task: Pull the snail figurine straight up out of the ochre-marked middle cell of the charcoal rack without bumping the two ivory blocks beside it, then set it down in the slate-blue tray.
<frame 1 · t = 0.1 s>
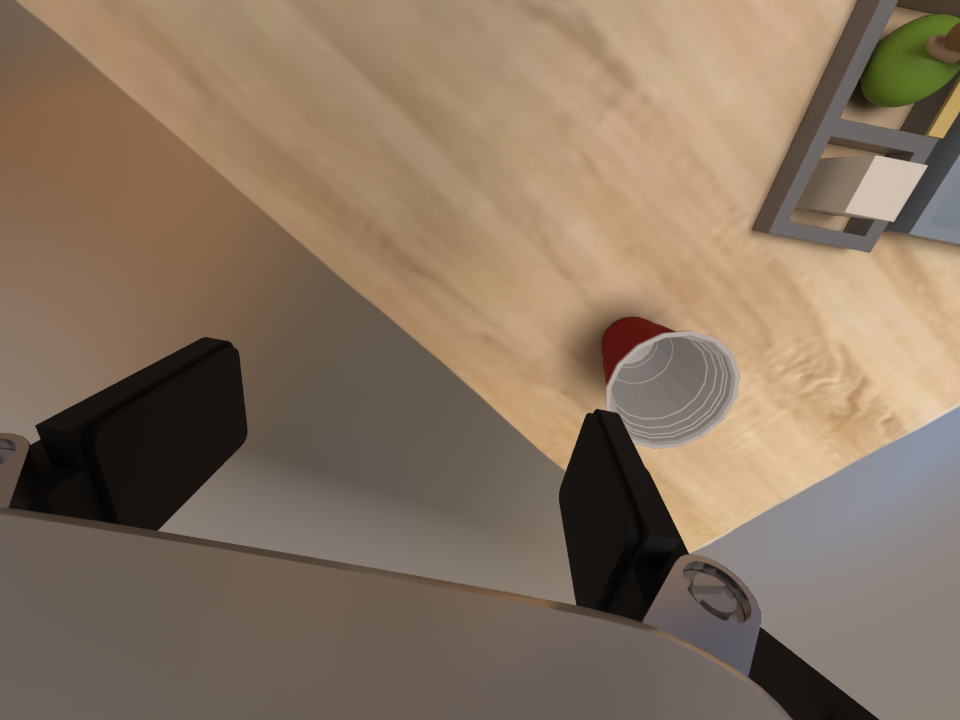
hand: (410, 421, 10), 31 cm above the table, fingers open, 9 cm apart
rack: (885, 73, 31), on the table
block 1: (825, 187, 35), resting in rack
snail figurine: (883, 74, 31), resting in rack
plastic cup: (629, 339, 42), on the table
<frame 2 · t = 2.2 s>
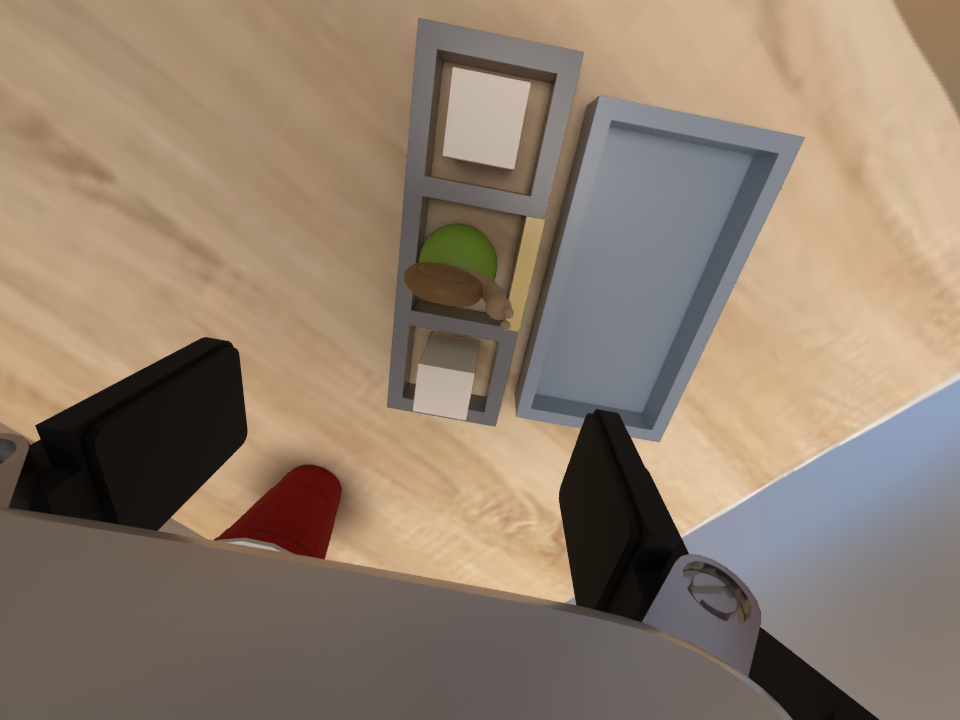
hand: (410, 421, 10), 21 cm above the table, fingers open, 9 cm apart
block 2: (488, 131, 26), resting in rack
rack: (468, 259, 29), on the table
block 1: (452, 357, 33), resting in rack
tray: (621, 287, 30), on the table
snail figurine: (468, 258, 29), resting in rack
plastic cup: (317, 483, 41), on the table
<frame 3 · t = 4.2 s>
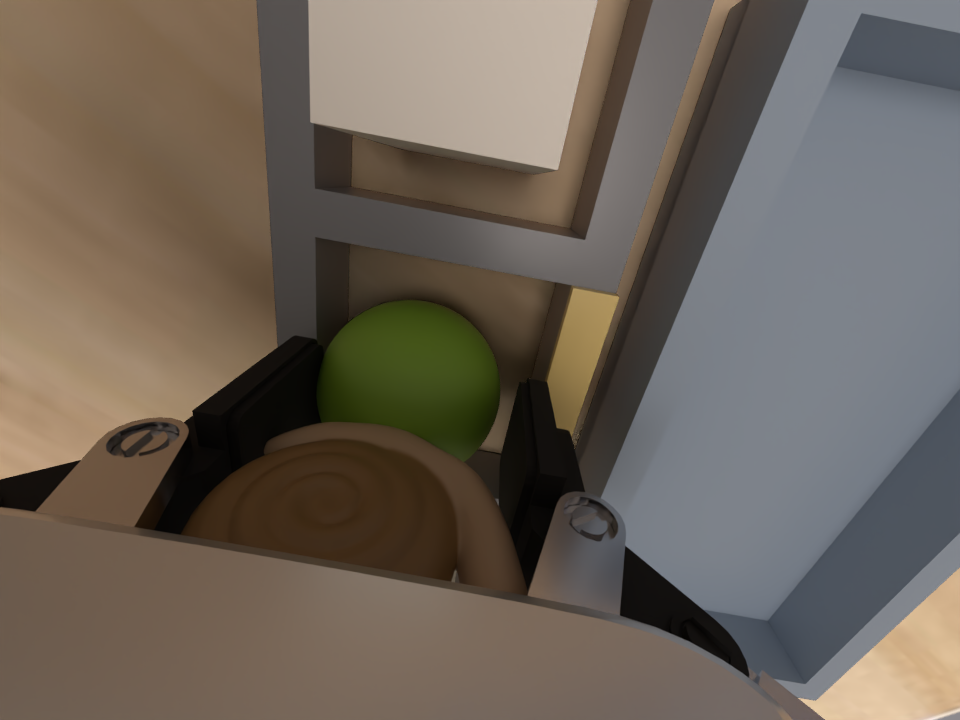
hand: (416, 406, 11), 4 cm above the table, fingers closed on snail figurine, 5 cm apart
block 2: (479, 82, 11), resting in rack
rack: (440, 355, 14), on the table
tray: (753, 413, 14), on the table
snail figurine: (441, 353, 14), resting in rack, touching gripper
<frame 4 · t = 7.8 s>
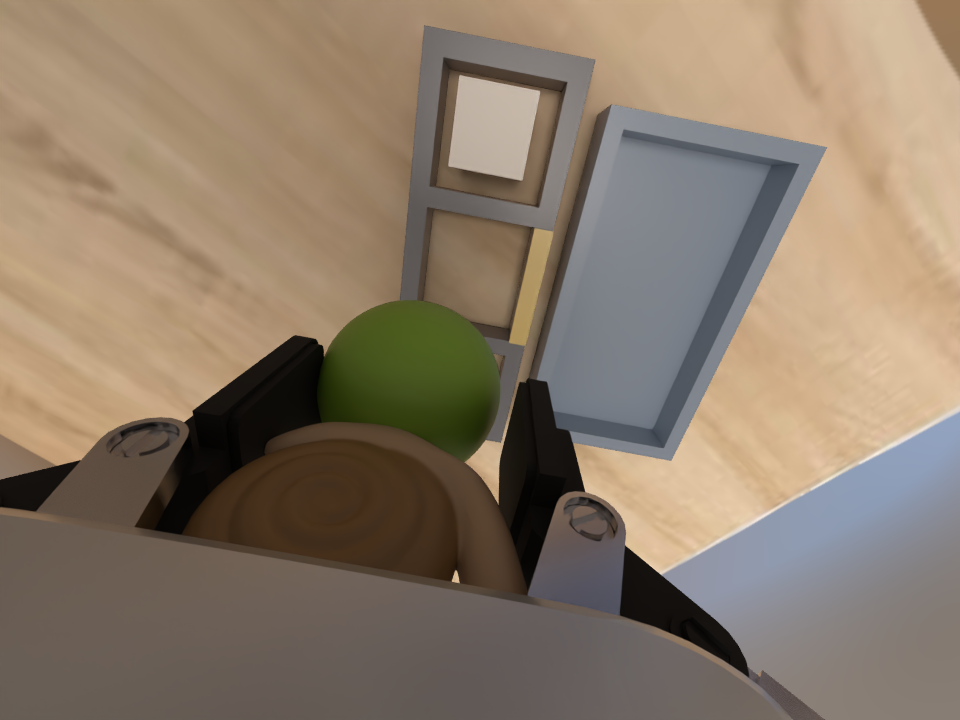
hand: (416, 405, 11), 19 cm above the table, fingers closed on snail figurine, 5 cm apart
block 2: (495, 141, 25), resting in rack
rack: (473, 270, 28), on the table
tray: (631, 301, 29), on the table
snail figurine: (442, 353, 14), point 15 cm above the table, touching gripper
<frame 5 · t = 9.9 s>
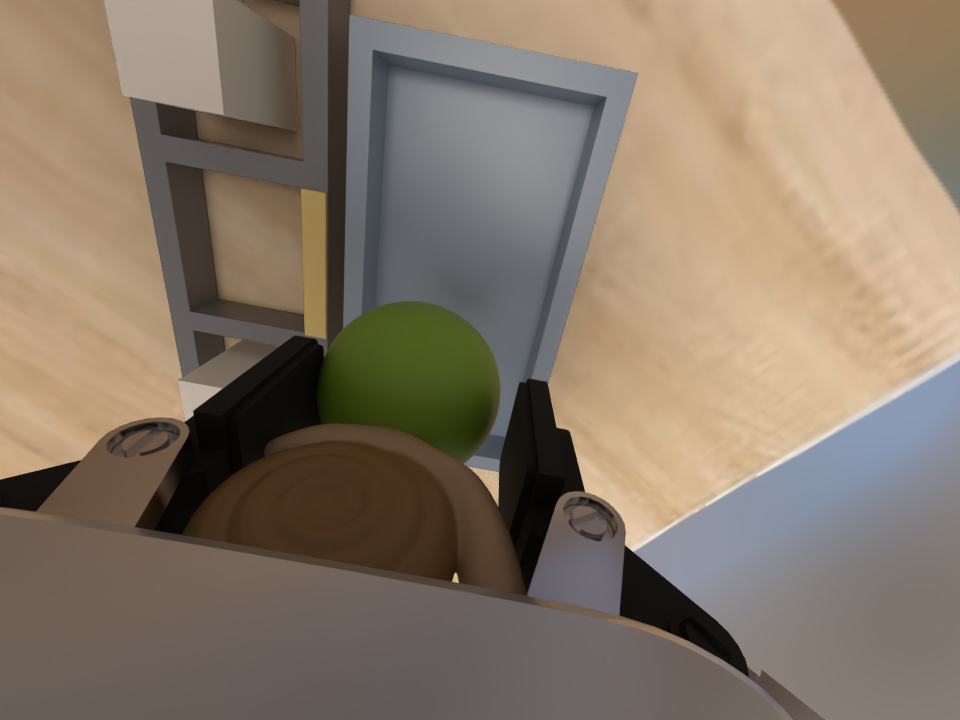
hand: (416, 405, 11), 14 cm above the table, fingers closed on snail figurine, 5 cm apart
block 2: (257, 79, 20), resting in rack
rack: (267, 247, 23), on the table
block 1: (276, 369, 27), resting in rack
tray: (462, 283, 24), on the table
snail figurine: (442, 354, 14), point 10 cm above the table, touching gripper
when the fingers open (6 cm above the table, at t = 11.7 s): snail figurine drops 1 cm, resting on tray.
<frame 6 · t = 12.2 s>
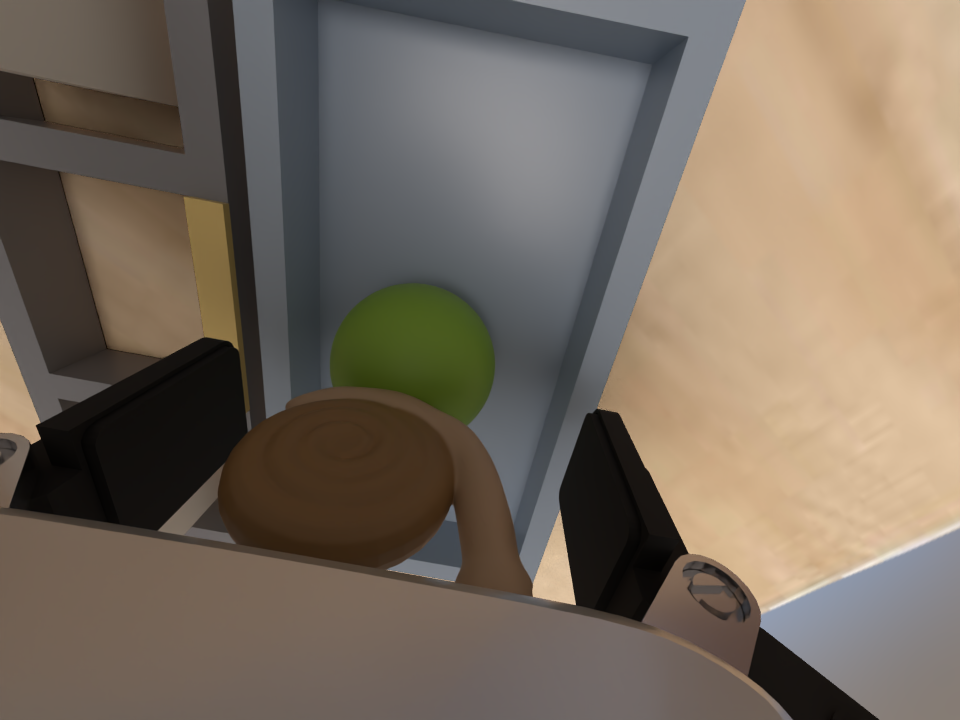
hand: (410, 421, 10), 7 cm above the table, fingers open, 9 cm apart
block 2: (121, 26, 13), resting in rack
rack: (166, 279, 16), on the table
block 1: (196, 438, 20), resting in rack
tray: (445, 331, 16), on the table
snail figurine: (442, 336, 16), point 1 cm above the table, touching tray
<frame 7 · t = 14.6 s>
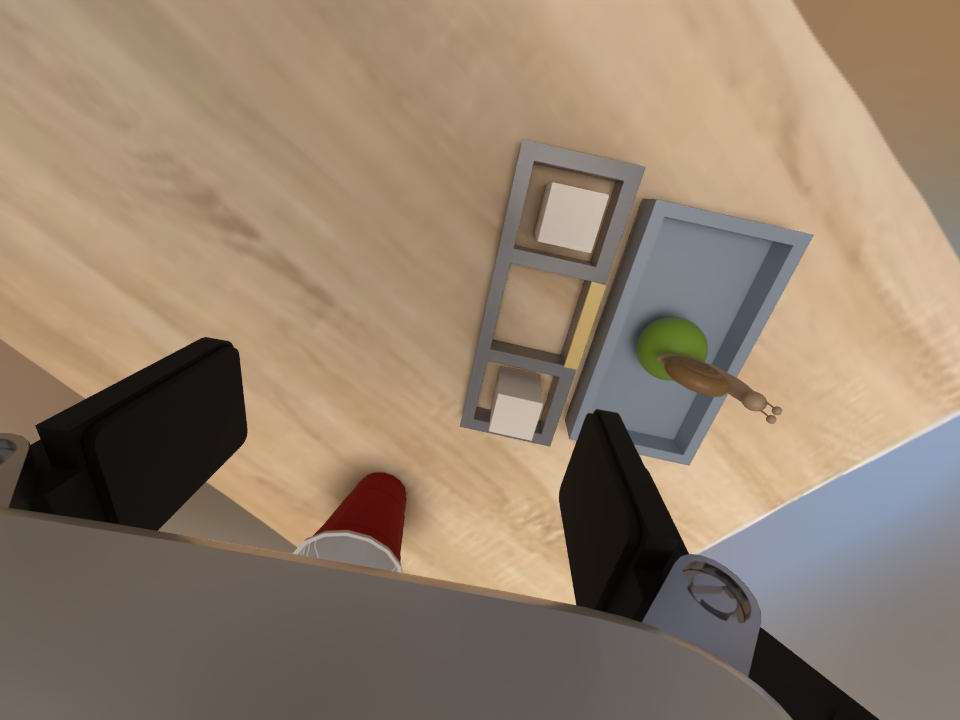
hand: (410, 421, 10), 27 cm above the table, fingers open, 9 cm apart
block 2: (562, 214, 33), resting in rack
rack: (536, 309, 36), on the table
block 1: (515, 386, 40), resting in rack
tray: (661, 336, 36), on the table
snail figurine: (664, 338, 35), point 1 cm above the table, touching tray
plastic cup: (385, 488, 47), on the table
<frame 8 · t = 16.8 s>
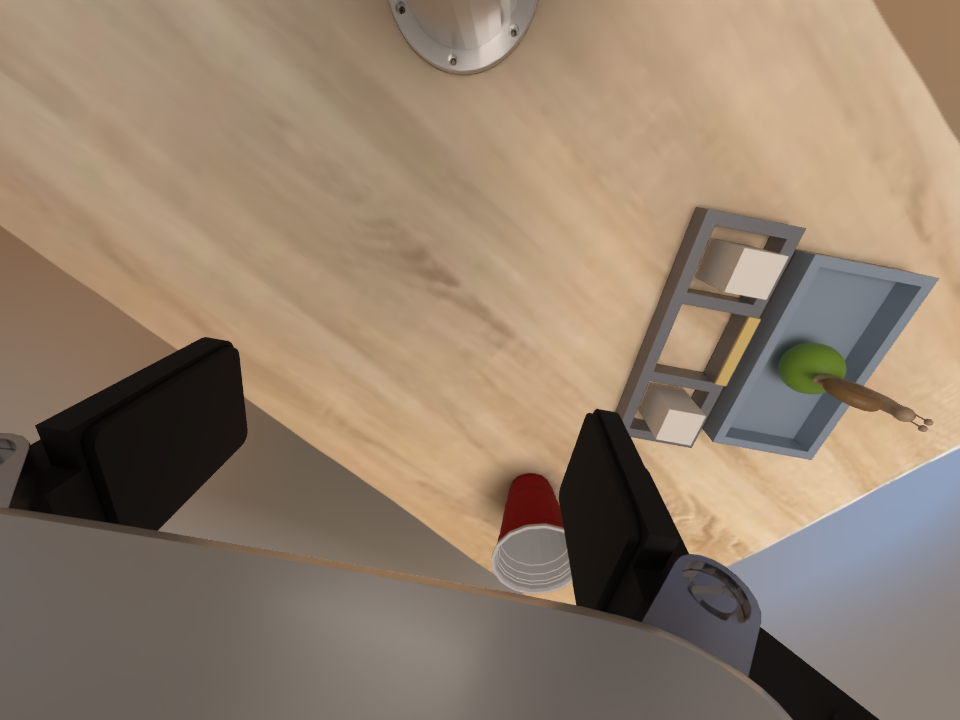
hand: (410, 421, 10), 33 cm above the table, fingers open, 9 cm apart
block 2: (721, 261, 40), resting in rack
rack: (688, 336, 43), on the table
block 1: (660, 399, 47), resting in rack
tray: (791, 355, 44), on the table
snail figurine: (796, 357, 43), point 1 cm above the table, touching tray
plastic cup: (531, 486, 55), on the table
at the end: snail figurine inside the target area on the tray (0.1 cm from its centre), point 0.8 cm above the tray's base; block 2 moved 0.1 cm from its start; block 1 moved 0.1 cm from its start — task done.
